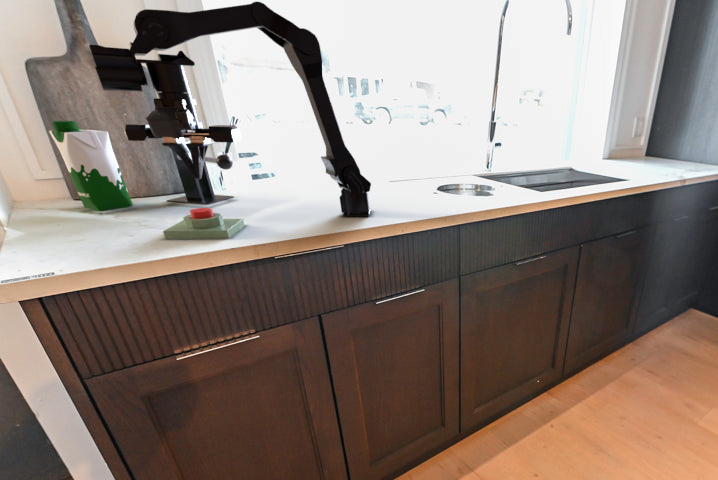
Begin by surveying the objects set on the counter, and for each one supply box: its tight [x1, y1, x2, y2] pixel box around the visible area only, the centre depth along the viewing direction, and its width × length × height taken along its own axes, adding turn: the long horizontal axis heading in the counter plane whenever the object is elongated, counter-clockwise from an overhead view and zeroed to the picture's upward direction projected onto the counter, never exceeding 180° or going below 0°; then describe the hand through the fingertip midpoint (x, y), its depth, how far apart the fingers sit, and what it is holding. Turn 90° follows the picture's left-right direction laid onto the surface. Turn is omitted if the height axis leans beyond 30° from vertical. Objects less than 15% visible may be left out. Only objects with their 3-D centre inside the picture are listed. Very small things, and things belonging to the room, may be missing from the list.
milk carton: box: [48, 120, 134, 215], centre depth 102 cm, size 9×9×20 cm
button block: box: [162, 212, 246, 240], centre depth 92 cm, size 12×10×4 cm
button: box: [189, 207, 214, 219], centre depth 91 cm, size 4×4×2 cm
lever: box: [204, 154, 234, 171], centre depth 111 cm, size 13×4×4 cm, turn 82°
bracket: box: [166, 148, 235, 206], centre depth 114 cm, size 12×10×14 cm
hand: (198, 178), depth 88 cm, fingers closed
